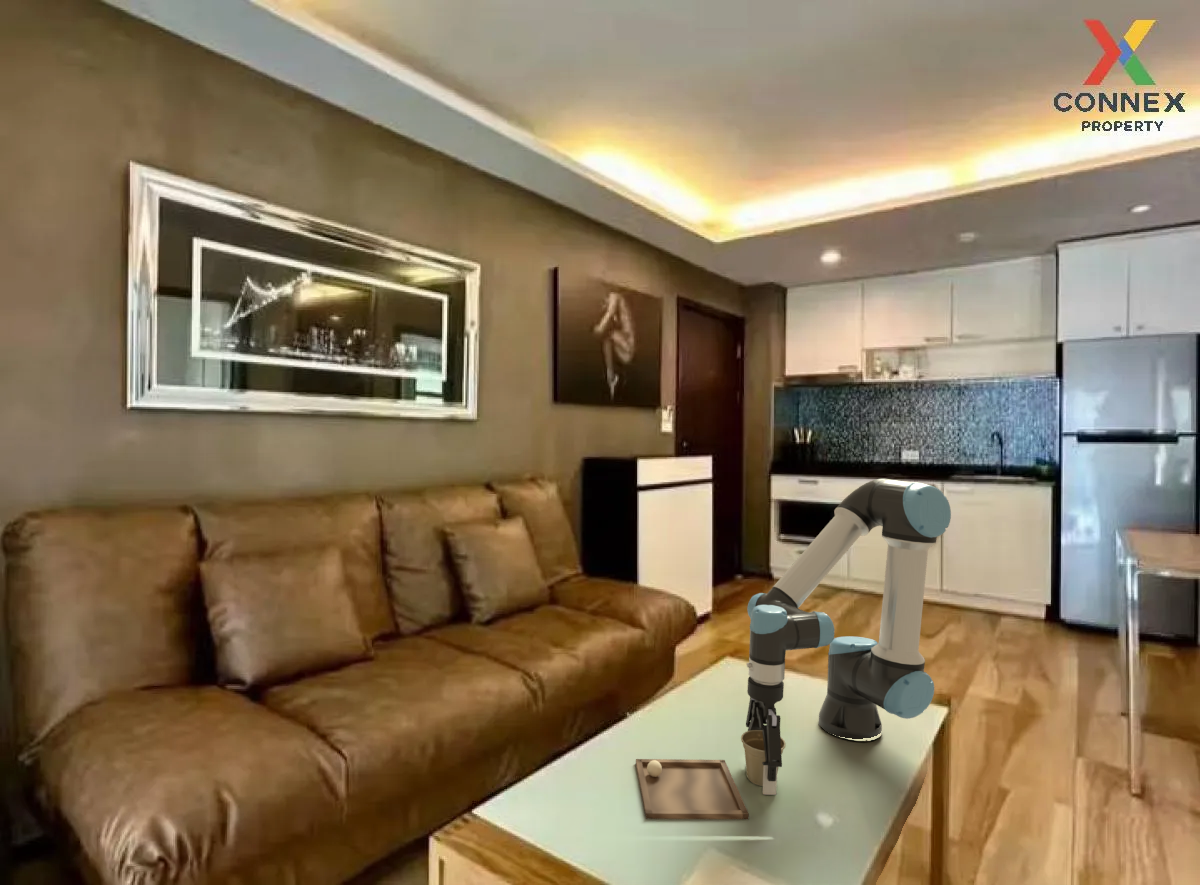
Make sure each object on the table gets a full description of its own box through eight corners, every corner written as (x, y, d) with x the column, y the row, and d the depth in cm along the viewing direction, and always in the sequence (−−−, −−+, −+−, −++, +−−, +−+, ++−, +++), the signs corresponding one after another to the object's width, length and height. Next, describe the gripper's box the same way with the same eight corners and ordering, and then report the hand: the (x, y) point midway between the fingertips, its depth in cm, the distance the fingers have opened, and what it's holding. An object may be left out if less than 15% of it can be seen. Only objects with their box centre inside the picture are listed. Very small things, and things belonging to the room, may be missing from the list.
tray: (724, 766, 146) (724, 759, 146) (748, 821, 126) (748, 814, 126) (635, 765, 145) (635, 759, 145) (646, 821, 125) (646, 813, 125)
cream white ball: (660, 771, 142) (661, 757, 142) (662, 780, 139) (663, 765, 139) (645, 771, 142) (646, 757, 142) (647, 779, 139) (648, 765, 139)
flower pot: (785, 794, 136) (787, 753, 136) (739, 787, 138) (741, 747, 138) (782, 770, 145) (784, 732, 145) (739, 765, 147) (740, 727, 147)
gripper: (735, 658, 152) (730, 750, 153) (764, 701, 129) (759, 810, 130) (766, 659, 153) (762, 751, 153) (802, 702, 129) (796, 810, 130)
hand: (761, 778), depth 142 cm, fingers open, 11 cm apart
